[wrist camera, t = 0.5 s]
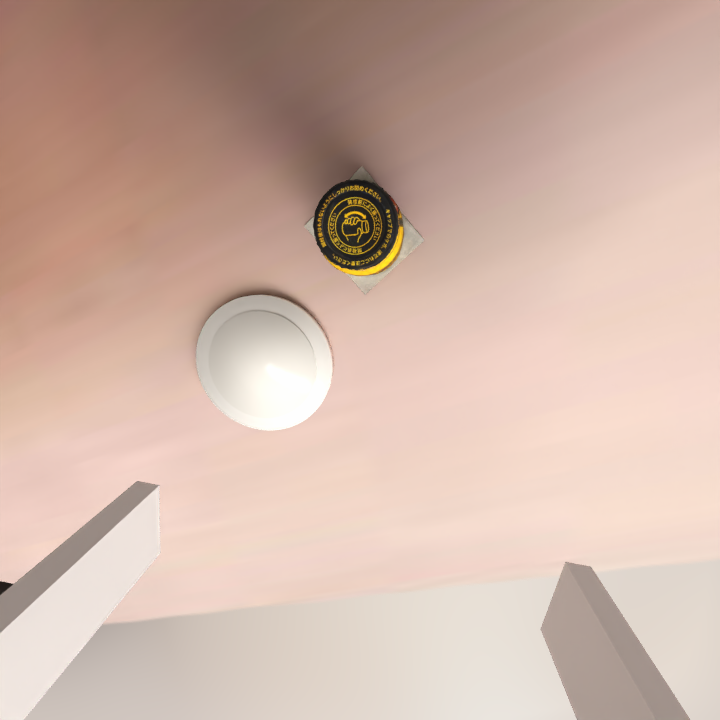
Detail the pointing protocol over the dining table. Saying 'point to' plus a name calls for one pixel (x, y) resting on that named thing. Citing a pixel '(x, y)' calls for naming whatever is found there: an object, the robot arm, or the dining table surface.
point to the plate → (264, 362)
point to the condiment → (362, 230)
